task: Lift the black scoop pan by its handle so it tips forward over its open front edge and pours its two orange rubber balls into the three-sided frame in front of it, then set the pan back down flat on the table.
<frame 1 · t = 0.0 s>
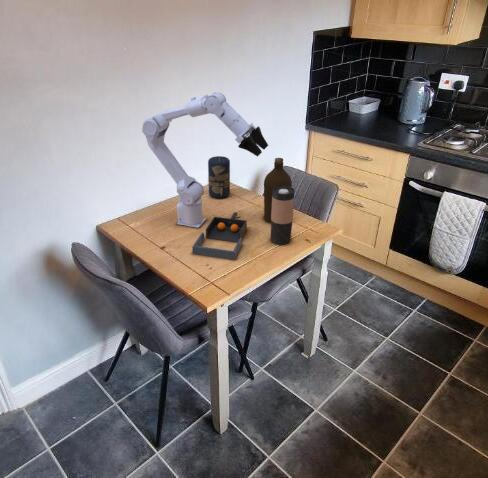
hand: (263, 150, 146), 32 cm above the table, tool tilted 50°, fingers open, 7 cm apart
olive oil: (276, 219, 173), on the table
travel mug: (280, 240, 158), on the table
canister: (219, 195, 194), on the table
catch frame: (218, 248, 153), on the table
ball b: (234, 228, 163), point 2 cm above the table, touching scoop pan
ball a: (221, 226, 164), point 2 cm above the table, touching scoop pan
scoop pan: (226, 234, 163), on the table, touching ball a, ball b
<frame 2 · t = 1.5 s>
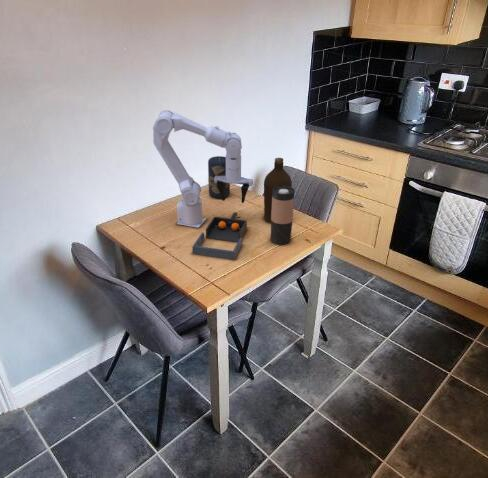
hand: (233, 200, 166), 9 cm above the table, tool pointing down, fingers open, 7 cm apart
ball b: (235, 226, 163), point 2 cm above the table, tilted 42°, touching scoop pan
ball a: (222, 225, 165), point 2 cm above the table, tilted 42°, touching scoop pan
everything else where it was.
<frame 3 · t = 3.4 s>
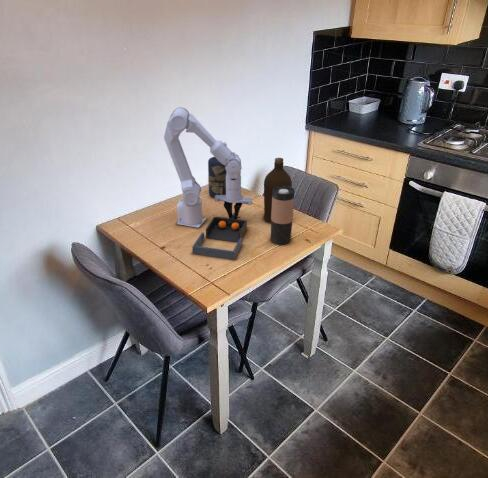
hand: (233, 219, 170), 1 cm above the table, tool pointing down, fingers closed on scoop pan, 2 cm apart
ball b: (235, 226, 164), point 2 cm above the table, tilted 55°, touching scoop pan
ball a: (222, 224, 165), point 2 cm above the table, tilted 55°, touching scoop pan
scoop pan: (226, 234, 163), on the table, touching ball a, ball b, gripper
everything else where it was.
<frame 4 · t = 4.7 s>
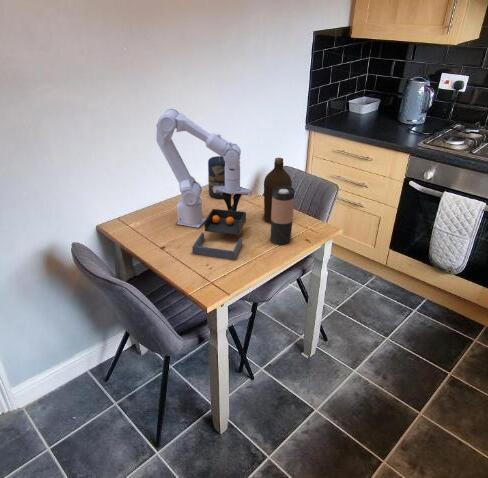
hand: (232, 210, 167), 6 cm above the table, tool pointing down, fingers closed on scoop pan, 2 cm apart
ball b: (230, 220, 159), point 6 cm above the table, tilted 49°, touching scoop pan
ball a: (215, 219, 161), point 6 cm above the table, tilted 55°, touching scoop pan
scoop pan: (225, 226, 159), point 4 cm above the table, touching ball a, ball b, gripper
everything else where it was.
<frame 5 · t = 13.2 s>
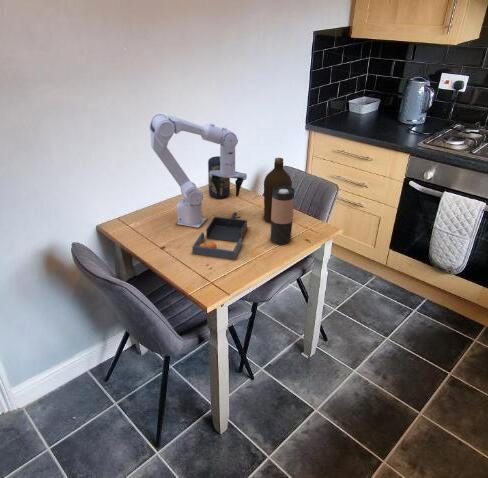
hand: (228, 194, 171), 9 cm above the table, tool pointing down, fingers open, 7 cm apart
ball b: (203, 247, 151), point 1 cm above the table, tilted 77°
ball a: (212, 246, 152), point 1 cm above the table, tilted 62°
scoop pan: (226, 234, 162), on the table
everything else where it was.
at the end: ball a inside the target area on the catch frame (1.8 cm from its centre), point 1.5 cm above the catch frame's base; ball b inside the target area on the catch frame (5.1 cm from its centre), point 1.5 cm above the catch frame's base; scoop pan tilted 0° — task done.
